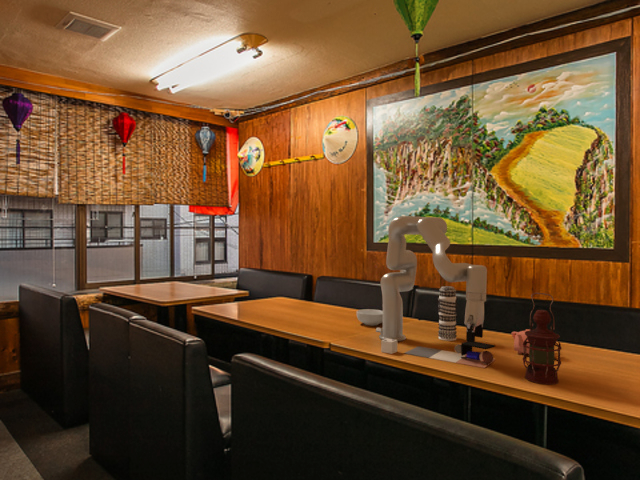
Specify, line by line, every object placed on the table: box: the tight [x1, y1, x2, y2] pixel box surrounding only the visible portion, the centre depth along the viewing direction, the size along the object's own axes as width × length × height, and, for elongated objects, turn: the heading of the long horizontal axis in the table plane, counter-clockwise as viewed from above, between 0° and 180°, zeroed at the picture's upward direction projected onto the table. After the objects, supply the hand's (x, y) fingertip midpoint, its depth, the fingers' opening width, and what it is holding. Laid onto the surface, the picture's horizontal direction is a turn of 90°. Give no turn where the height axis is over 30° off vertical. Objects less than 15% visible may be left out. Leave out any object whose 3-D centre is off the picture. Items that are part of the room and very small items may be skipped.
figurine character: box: [454, 341, 496, 365], centre depth 174 cm, size 7×8×15 cm
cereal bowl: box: [356, 308, 383, 327], centre depth 245 cm, size 17×17×7 cm
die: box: [380, 338, 398, 355], centre depth 188 cm, size 5×5×5 cm
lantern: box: [522, 292, 563, 386], centre depth 152 cm, size 12×12×30 cm
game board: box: [403, 345, 496, 369], centre depth 180 cm, size 33×14×1 cm, turn 53°
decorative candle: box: [437, 285, 459, 342], centre depth 211 cm, size 9×9×25 cm
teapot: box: [511, 328, 531, 355], centre depth 185 cm, size 14×12×10 cm
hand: (474, 339), depth 174 cm, fingers open, 9 cm apart
